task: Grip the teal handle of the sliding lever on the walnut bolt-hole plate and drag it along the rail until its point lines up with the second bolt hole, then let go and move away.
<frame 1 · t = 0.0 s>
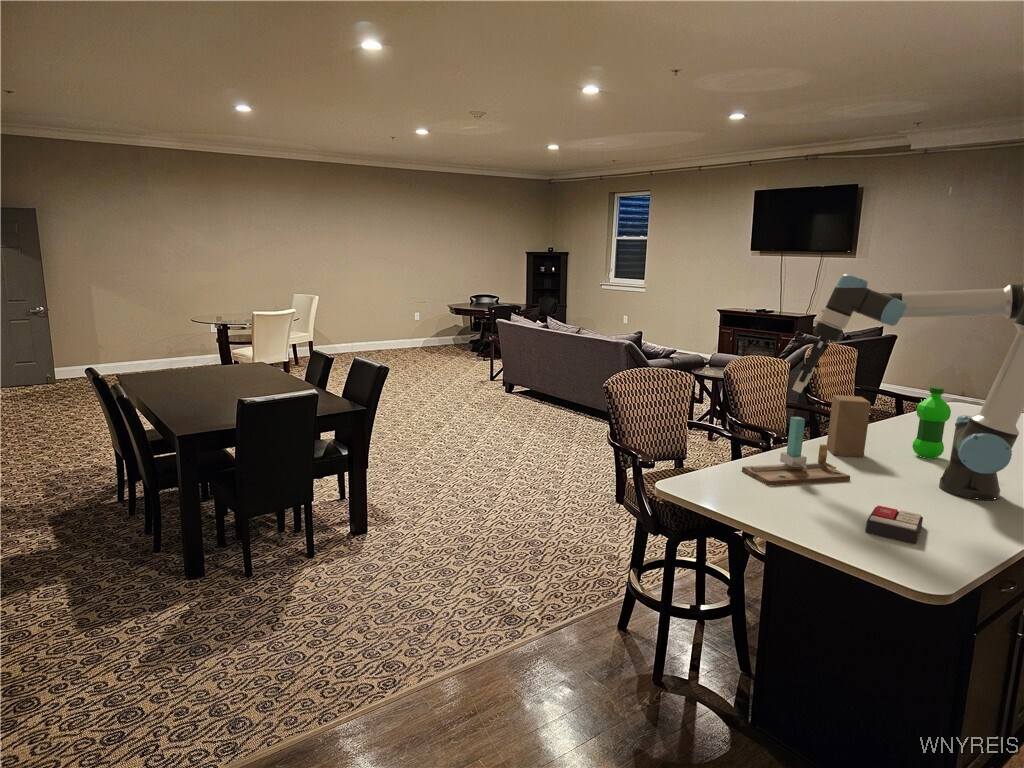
hand: (799, 387, 207), 28 cm above the table, tool tilted 20°, fingers open, 13 cm apart
plastic bottle: (926, 457, 237), on the table
wooden block: (844, 453, 238), on the table
sliding lever: (798, 444, 210), point 10 cm above the table, slide at 11.0 cm
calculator: (893, 531, 169), on the table
hole plate: (795, 475, 210), on the table
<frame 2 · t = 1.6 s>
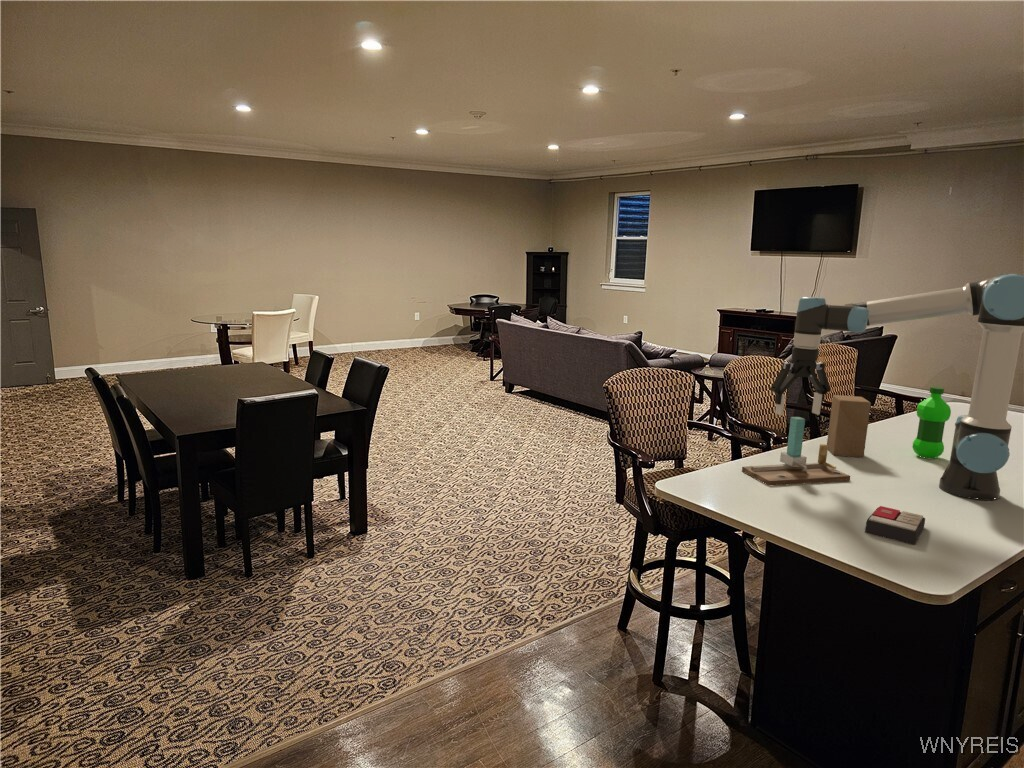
hand: (797, 414, 210), 19 cm above the table, tool pointing down, fingers open, 13 cm apart
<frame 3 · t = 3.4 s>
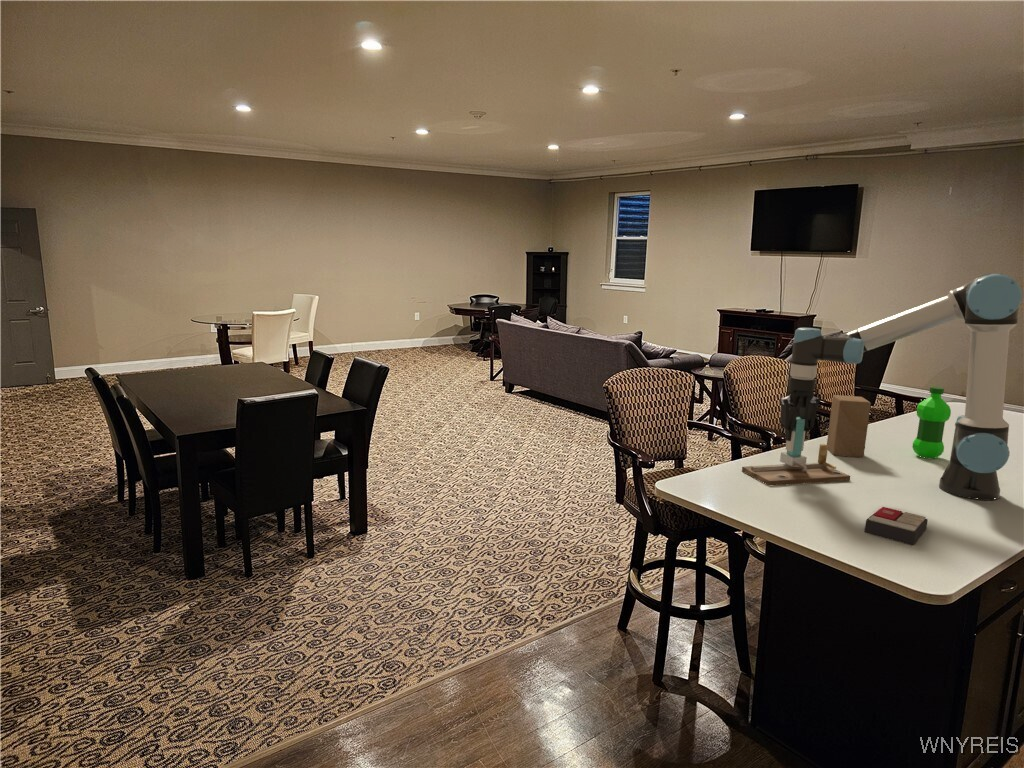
hand: (794, 450, 212), 8 cm above the table, tool pointing down, fingers closed on sliding lever, 3 cm apart
sliding lever: (798, 444, 210), point 10 cm above the table, slide at 11.0 cm, touching gripper
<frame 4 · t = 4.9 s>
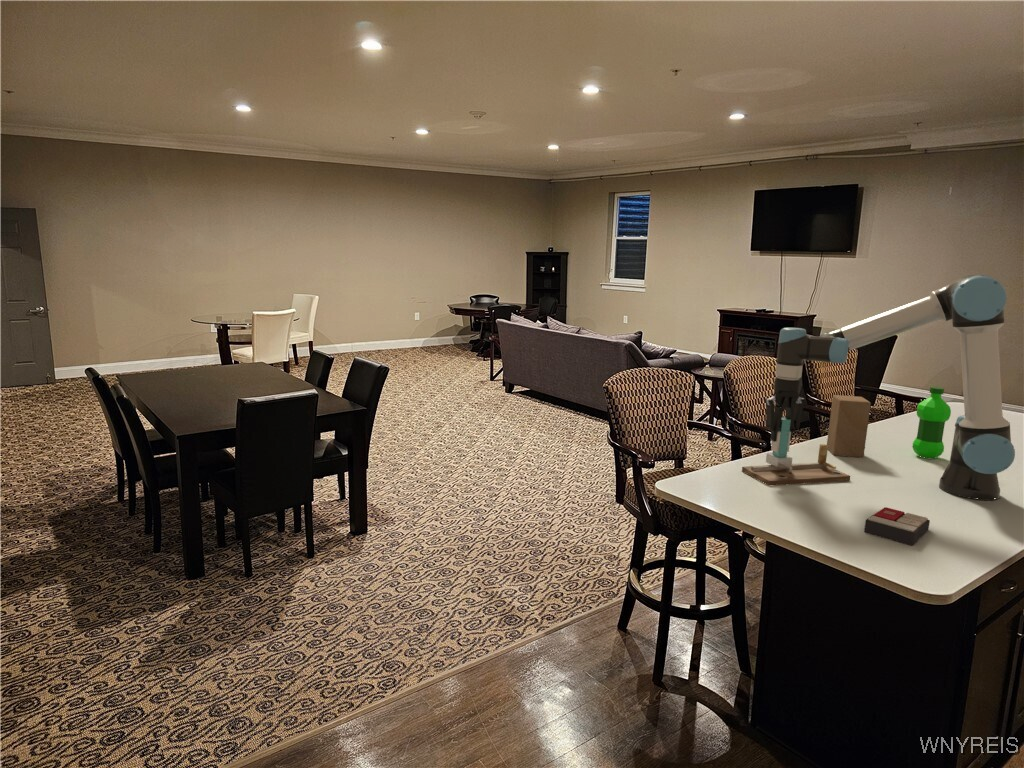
hand: (780, 450, 210), 8 cm above the table, tool pointing down, fingers closed on sliding lever, 3 cm apart
sliding lever: (784, 444, 208), point 10 cm above the table, slide at 16.3 cm, touching gripper
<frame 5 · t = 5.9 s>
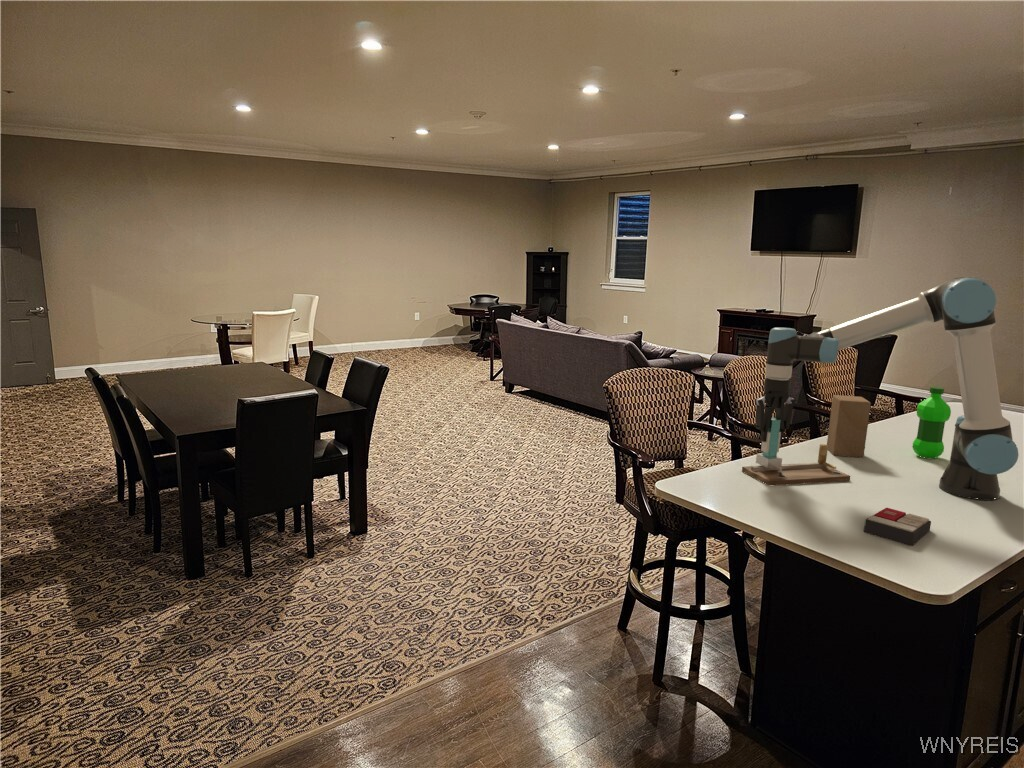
hand: (769, 451, 209), 8 cm above the table, tool pointing down, fingers closed on sliding lever, 3 cm apart
sliding lever: (774, 445, 207), point 10 cm above the table, slide at 19.9 cm, touching gripper
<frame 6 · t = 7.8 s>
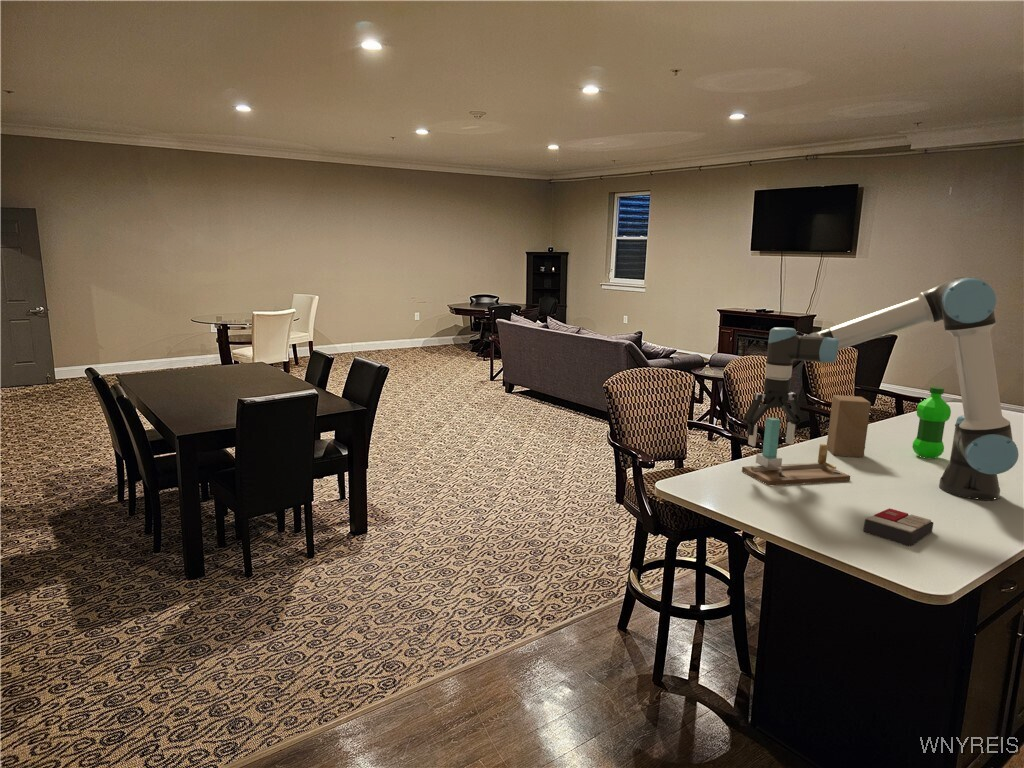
hand: (770, 444, 209), 10 cm above the table, tool pointing down, fingers open, 13 cm apart
sliding lever: (774, 445, 207), point 10 cm above the table, slide at 20.0 cm
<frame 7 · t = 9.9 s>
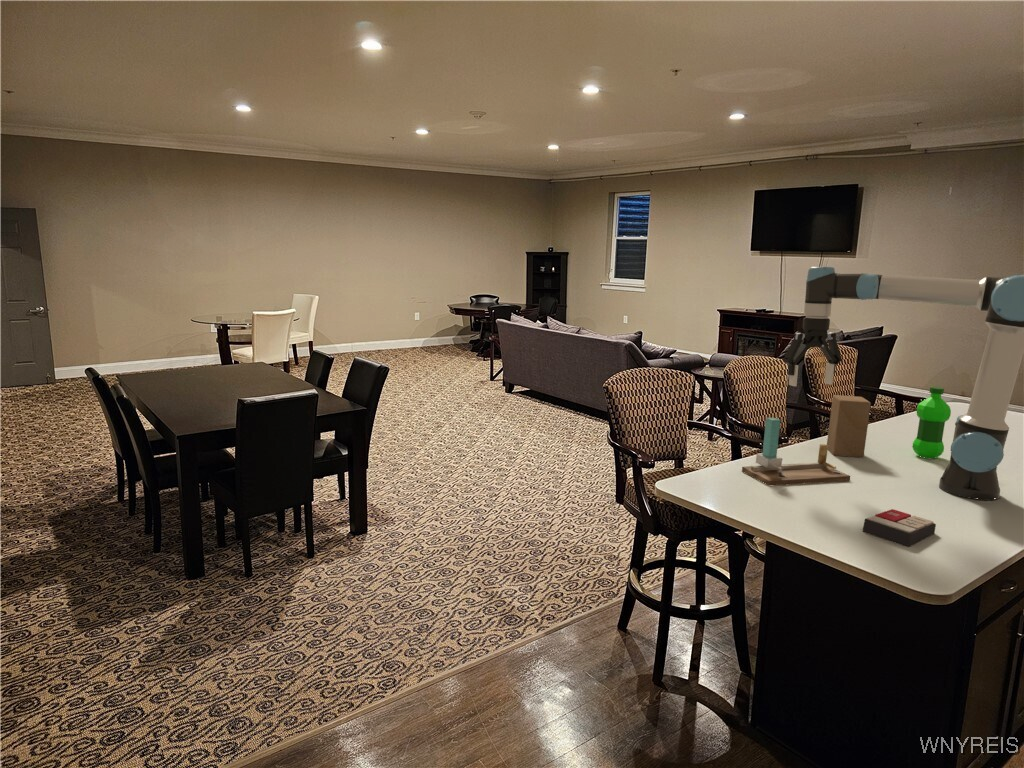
hand: (810, 384, 209), 28 cm above the table, tool pointing down, fingers open, 13 cm apart
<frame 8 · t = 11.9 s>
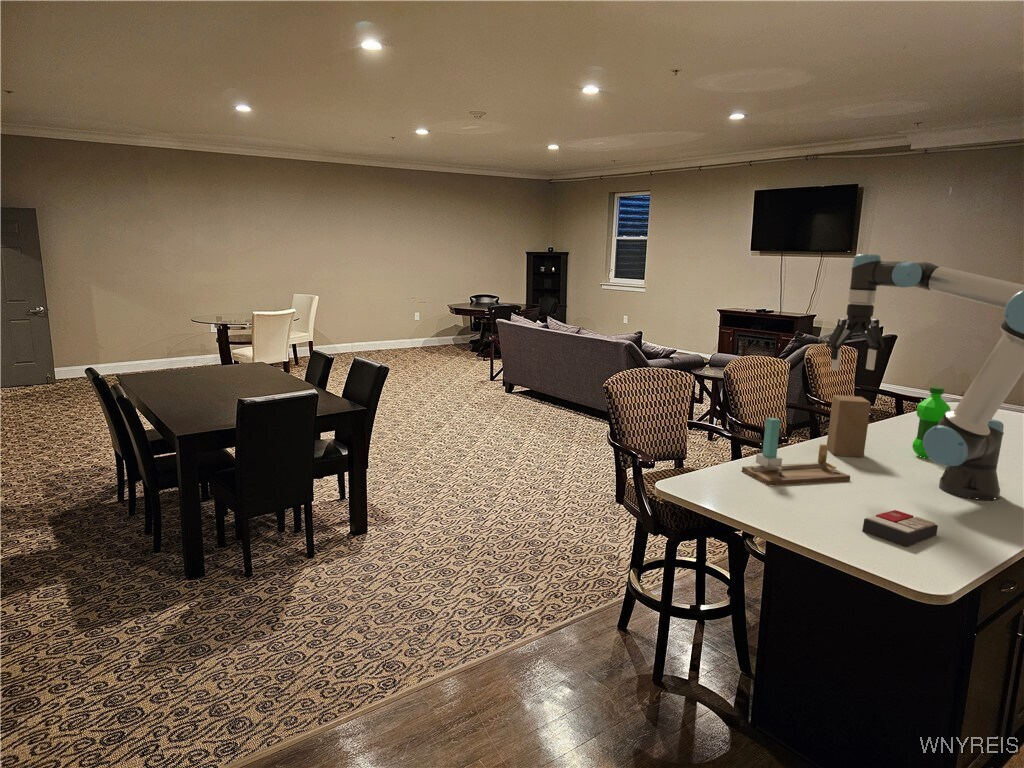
hand: (852, 369, 215), 33 cm above the table, tool pointing down, fingers open, 13 cm apart
at the end: sliding lever slide at 20.0 cm; the gripper is holding nothing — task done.
